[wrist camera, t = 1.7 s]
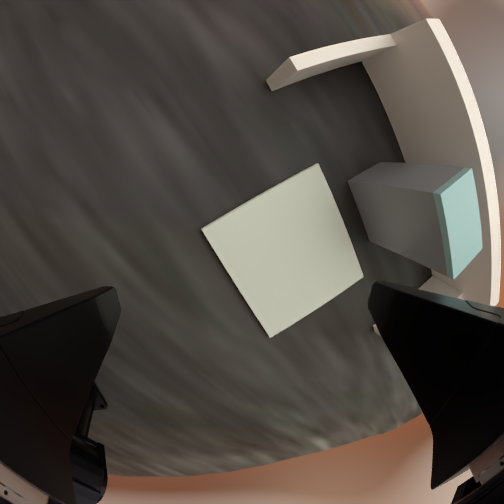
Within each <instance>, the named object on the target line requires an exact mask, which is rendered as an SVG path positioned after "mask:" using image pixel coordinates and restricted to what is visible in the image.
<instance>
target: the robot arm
mask: <svg viewBox="0 0 504 504" xmlns="http://www.w3.org/2000/svg"><path fill="white" fill-rule="evenodd" d="M368 308H369V311H370V313H371V315H372V317H373V320H374V322H375V324H376V326H377V329H378V331H379V333H380V335H381V337H382V339H383V341H384V342H385V344H386V346H387V348H388V349H389V351H390V353H391V354H392V356H393V358H394V360H395V361H396V363H397V365H398V367H399V369H400V370H401V372H402V374H403V376H404V378H405V379H406V381H407V383H408V385H409V387H410V389H411V391H412V392H413V394H414V396H415V398H416V400H417V402H418V404H419V406H420V408H421V410H422V412H423V414H424V416H425V418H426V420H427V422H428V423H429V425H430V428H431V431H432V435H433V460H432V477H431V489H435V488H437V487H439V486H440V485H442V484H444V483H446V482H448V481H450V480H451V479H453V478H455V477H457V476H458V475H460V474H462V473H463V472H465V471H467V470H468V469H470V470H471V472H472V474H473V477H471V478H470V479H468V480H467V481H466V482H464V483H462V484H461V485H460V486H458V488H457V490H456V493H455V495H454V498H453V500H452V503H451V504H504V308H500V307H496V306H491V305H486V304H482V303H477V302H473V301H468V300H463V299H458V298H454V297H450V296H446V295H441V294H437V293H433V292H428V291H424V290H420V289H416V288H411V287H407V286H403V285H399V284H394V283H390V282H386V281H376V282H374V283H373V284H372V287H371V291H370V295H369V299H368ZM120 312H121V308H120V304H119V300H118V296H117V292H116V289H115V288H114V287H111V286H104V287H100V288H97V289H94V290H90V291H87V292H84V293H80V294H77V295H74V296H71V297H67V298H64V299H61V300H57V301H54V302H51V303H48V304H44V305H41V306H38V307H35V308H31V309H28V310H25V312H24V311H20V312H17V313H14V314H10V315H7V316H4V317H0V504H96V503H98V502H99V501H100V500H101V499H102V497H103V495H104V493H105V490H106V486H107V479H108V478H107V468H106V459H105V449H104V445H103V444H101V443H99V442H98V443H97V442H95V441H93V440H92V439H90V438H88V432H89V427H90V423H91V419H92V414H93V410H102V409H106V408H107V403H106V401H105V400H104V398H103V396H102V395H101V393H100V391H99V390H98V388H97V386H96V384H95V383H94V381H95V378H96V376H97V373H98V371H99V369H100V366H101V364H102V362H103V359H104V357H105V355H106V353H107V350H108V348H109V346H110V343H111V341H112V338H113V335H114V331H115V328H116V325H117V322H118V319H119V316H120Z"/></svg>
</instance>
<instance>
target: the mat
mask: <svg viewBox="0 0 504 504" xmlns="http://www.w3.org/2000/svg"><path fill="white" fill-rule="evenodd" d="M201 230H202V231H203V233H204V235H205V236H206V238H207V239H208V241H209V243H210V244H211V246H212V248H213V249H214V251H215V252H216V254H217V256H218V257H219V259H220V261H221V262H222V264H223V265H224V267H225V269H226V270H227V272H228V273H229V275H230V276H231V278H232V280H233V281H234V283H235V284H236V286H237V288H238V289H239V291H240V292H241V294H242V295H243V297H244V298H245V300H246V302H247V303H248V305H249V306H250V308H251V309H252V311H253V312H254V314H255V316H256V317H257V319H258V320H259V322H260V323H261V325H262V326H263V328H264V329H265V331H266V332H267V334H268V335H269V337H270V338H271V337H273V336H274V335H276V334H278V333H279V332H281V331H283V330H284V329H286V328H287V327H289V326H291V325H292V324H294V323H296V322H297V321H299V320H300V319H302V318H303V317H305V316H307V315H308V314H310V313H311V312H313V311H314V310H316V309H317V308H319V307H320V306H322V305H323V304H325V303H326V302H328V301H329V300H331V299H332V298H334V297H335V296H337V295H338V294H340V293H341V292H343V291H344V290H346V289H347V288H348V287H350V286H351V285H353V284H354V283H356V282H357V281H358V280H360V279H361V278H363V277H364V276H363V273H362V271H361V268H360V265H359V262H358V259H357V256H356V254H355V251H354V248H353V245H352V243H351V240H350V237H349V235H348V232H347V230H346V227H345V225H344V222H343V220H342V217H341V215H340V212H339V210H338V207H337V205H336V202H335V200H334V198H333V195H332V193H331V191H330V188H329V186H328V184H327V182H326V179H325V177H324V175H323V173H322V170H321V168H320V166H319V164H314V165H312V166H310V167H309V168H307V169H305V170H303V171H301V172H299V173H297V174H296V175H294V176H292V177H290V178H288V179H286V180H285V181H283V182H281V183H279V184H277V185H276V186H274V187H272V188H270V189H268V190H267V191H265V192H263V193H261V194H260V195H258V196H256V197H254V198H253V199H251V200H249V201H247V202H246V203H244V204H242V205H240V206H239V207H237V208H235V209H234V210H232V211H230V212H228V213H227V214H225V215H223V216H222V217H220V218H218V219H217V220H215V221H213V222H212V223H210V224H208V225H207V226H205V227H203V228H202V229H201Z"/></svg>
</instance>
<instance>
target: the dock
mask: <svg viewBox="0 0 504 504" xmlns="http://www.w3.org/2000/svg"><path fill="white" fill-rule="evenodd" d="M357 62H362V63H363V65H364V67H365V69H366V71H367V73H368V75H369V77H370V79H371V81H372V83H373V85H374V87H375V89H376V91H377V93H378V95H379V97H380V100H381V102H382V104H383V106H384V109H385V111H386V113H387V116H388V118H389V120H390V123H391V125H392V128H393V130H394V133H395V135H396V138H397V141H398V143H399V146H400V149H401V152H402V155H403V157H404V160H405V163H418V164H434V165H446V166H457V167H467V168H472V171H473V176H474V181H475V186H476V192H477V198H478V205H479V213H480V221H481V232H482V245H483V248H482V249H481V251H480V252H479V253H478V254H477V255H476V256H475V257H474V259H473V260H472V261H471V262H470V263H469V264H468V265H467V266H466V267H465V268H464V270H463V271H462V272H461V273H460V274H459V275H458V276H457V277H456V278H455V279H454V280H453V279H451V278H449V277H447V276H445V275H442V274H440V273H438V272H436V271H434V270H432V269H431V272H432V277H431V278H430V279H429V280H427V281H426V282H425V283H424V284H423V285H422V286H421V287H420V288H418V289H420V290H424V291H428V292H433V293H437V294H441V295H446V296H450V297H454V298H458V299H464V300H468V301H473V302H477V303H482V304H486V305H491V306H496V304H497V303H498V302H499V291H500V274H501V237H500V218H499V206H498V198H497V189H496V182H495V176H494V170H493V164H492V159H491V154H490V150H489V145H488V141H487V137H486V133H485V129H484V125H483V122H482V118H481V115H480V112H479V109H478V105H477V102H476V100H475V97H474V94H473V91H472V88H471V85H470V83H469V81H468V78H467V75H466V73H465V70H464V68H463V66H462V63H461V61H460V59H459V57H458V54H457V52H456V50H455V48H454V46H453V44H452V42H451V40H450V38H449V36H448V34H447V32H446V30H445V29H444V27H443V25H442V23H441V21H440V20H439V19H423V20H421V21H419V22H416V23H414V24H412V25H409V26H407V27H405V28H403V29H401V30H398V31H396V32H394V33H392V34H389V35H382V36H375V37H369V38H363V39H358V40H353V41H348V42H344V43H339V44H335V45H331V46H327V47H323V48H319V49H315V50H312V51H308V52H305V53H301V54H298V55H295V56H291V57H289V58H288V59H287V60H286V61H285V62H284V63H283V64H282V65H281V66H280V67H279V68H278V69H277V70H276V71H275V72H274V73H273V74H272V75H271V76H270V77H269V78H268V79H267V80H266V82H267V84H268V85H269V87H270V89H271V91H274V90H277V89H279V88H282V87H284V86H287V85H290V84H292V83H295V82H298V81H300V80H303V79H306V78H309V77H312V76H315V75H318V74H321V73H324V72H327V71H330V70H333V69H336V68H340V67H343V66H346V65H350V64H354V63H357ZM373 328H374V331H375V332H376V333H377V334H378V335H379V336H380V337H381V335H380V333H379V331H378V329H377V326H376V324H374V325H373ZM381 338H382V337H381Z"/></svg>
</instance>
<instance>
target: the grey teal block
mask: <svg viewBox="0 0 504 504" xmlns="http://www.w3.org/2000/svg"><path fill="white" fill-rule="evenodd" d="M347 182H348V184H349V187H350V189H351V192H352V194H353V197H354V200H355V202H356V205H357V207H358V210H359V213H360V216H361V218H362V221H363V224H364V227H365V230H366V232H367V235H368V238H369V241H370V242H372V243H374V244H377V245H379V246H381V247H383V248H386V249H388V250H390V251H393V252H395V253H397V254H399V255H402V256H404V257H406V258H408V259H410V260H413V261H415V262H417V263H419V264H421V265H423V266H426V267H428V268H430V269H432V270H434V271H436V272H438V273H440V274H442V275H445V276H447V277H449V278H451V279H453V280H454V279H455V278H456V277H457V276H458V275H459V274H460V273H461V272H462V271H463V270H464V268H465V267H466V266H467V265H468V264H469V263H470V262H471V261H472V260H473V259H474V257H475V256H476V255H477V254H478V253H479V252H480V251H481V249H482V248H483V245H482V232H481V221H480V213H479V205H478V198H477V192H476V186H475V181H474V176H473V171H472V168H467V167H457V166H446V165H434V164H418V163H396V162H379V163H377V164H376V165H374V166H372V167H370V168H369V169H367V170H365V171H363V172H362V173H360V174H358V175H356V176H355V177H353V178H351V179H349V180H348V181H347Z"/></svg>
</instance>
